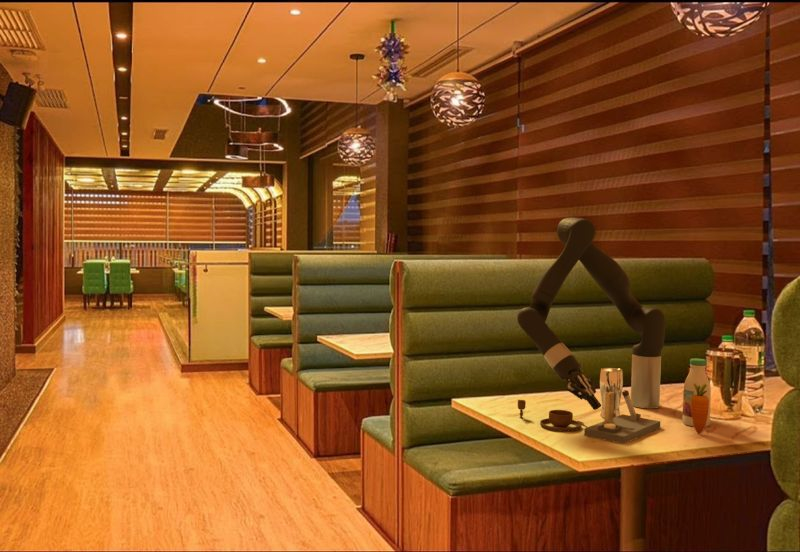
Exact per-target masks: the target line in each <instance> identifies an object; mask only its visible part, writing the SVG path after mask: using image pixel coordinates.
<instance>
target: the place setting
mask: <svg viewBox="0 0 800 552" xmlns="http://www.w3.org/2000/svg"><path fill="white" fill-rule="evenodd" d="M526 401H527V400H525V399H518V400H517V409H518V410H519V419H524V417H523V416H524V413H523V410H525V409H526V406H527V405H526ZM573 414H574V413H573V412H572V411H570V410H569V411H568V410H564V409H552V410H549V411H548V418H543V419H541V420H540V421H539V424H540V427H542V428H543V429H545V430H548V431H552V432H561V433H565V432H569V433H570V432H577V431H579V430H580V429H581V428H582V426H583V427H584V428H587V427H588V426H587V425H585V423H584V422H582V421H580V420H576V419H575V420H574V419H573V416H574V415H573ZM547 424H551V425H553V426H551V425H547ZM525 425H530V422H525ZM571 425H572V426H573V427H568V426H571Z"/></svg>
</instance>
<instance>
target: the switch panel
mask: <svg viewBox="0 0 800 552" xmlns="http://www.w3.org/2000/svg"><path fill="white" fill-rule="evenodd" d="M636 415H637V416H635V415H630V414H629V415H628V414H620V416H617V417H614V418H613V421H614V422H615V425H616V428H614V429H610V428H605V427H604V424H603V422H604V421H605V420H604V421H601V422H598V423H596V424H592V425H589V426H587V428H586V427H584V429H583V431H584V432H583V436H585V437H591V438H595V439H599V438H600V439H599V440H603V439H605V440H604V441H608V440H610V442H613V441H614V443H618V442H619V443H618V444H623V445H624V444H627V443H629V442H631V441H634V440H635V438H636V439H638V438H640V437H642V435H643V436H645V435H647V434H650V433H651V431H652V432H654V431H656V429H657V430H659V429H661V420H657V419H650V418H644V417H641V416H642V415H641V413H637V412H636ZM649 432H650V433H649ZM633 439H634V440H633ZM630 440H631V441H630ZM628 441H629V442H628Z"/></svg>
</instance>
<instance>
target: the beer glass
mask: <svg viewBox="0 0 800 552" xmlns="http://www.w3.org/2000/svg"><path fill="white" fill-rule="evenodd" d="M623 373H624V372H623V369H621V368H615V367H603V368H600V375H599V389H600V396H601V397H600V399H601V409H600V417H601V418H602V417H604V418H603V419H605V394H606V393H609V392H613V393H614V413H613V418H614V417H617V416H620V415H621V411H620V405H621V404H620V403H621V397H622V392H623V387H624V386H623V385H624V374H623Z"/></svg>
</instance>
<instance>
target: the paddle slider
mask: <svg viewBox="0 0 800 552" xmlns="http://www.w3.org/2000/svg"><path fill="white" fill-rule="evenodd" d="M613 413H614V393H613V392H609V393H606V394H605V418H604V422H603V421H602V422H603V424H607V423H609V424H615V422H614V421H613Z"/></svg>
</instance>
